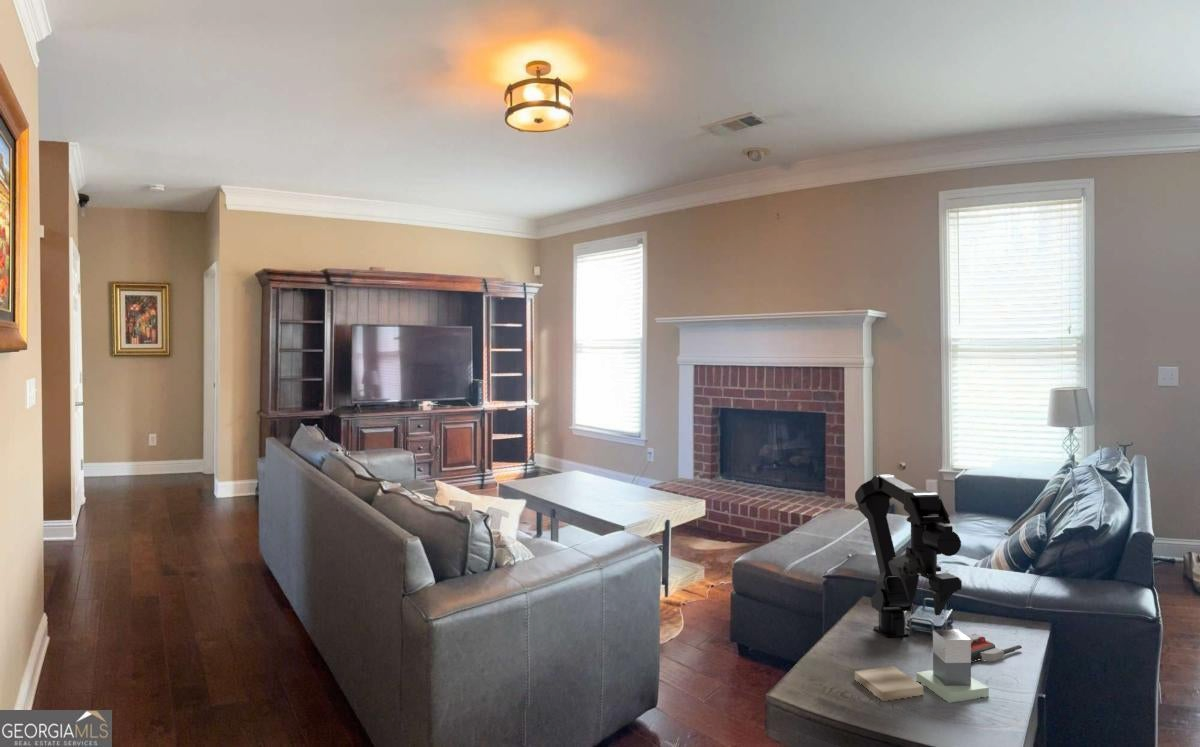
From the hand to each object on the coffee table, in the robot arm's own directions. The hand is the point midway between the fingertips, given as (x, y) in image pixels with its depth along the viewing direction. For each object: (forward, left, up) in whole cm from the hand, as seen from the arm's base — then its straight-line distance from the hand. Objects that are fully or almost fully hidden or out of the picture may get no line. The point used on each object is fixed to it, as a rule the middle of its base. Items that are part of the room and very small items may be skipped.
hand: (923, 608), depth 165 cm
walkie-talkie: (+2, +15, -13) cm, 20 cm away
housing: (+15, -5, -10) cm, 19 cm away
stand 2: (+15, -5, -12) cm, 20 cm away
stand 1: (+11, -18, -12) cm, 24 cm away
